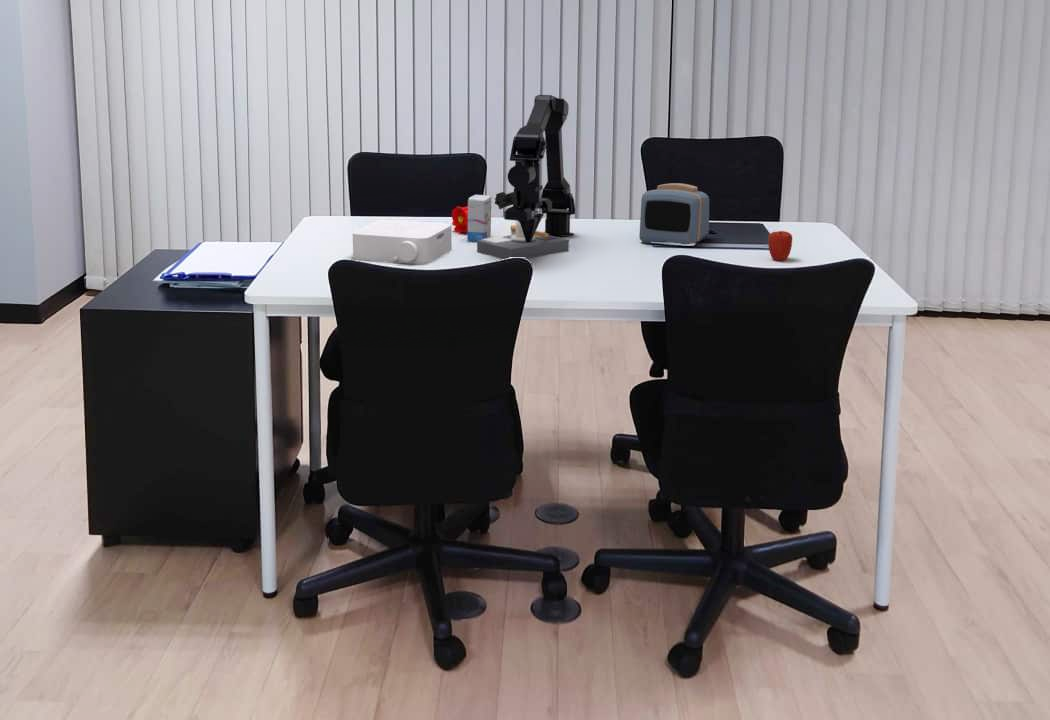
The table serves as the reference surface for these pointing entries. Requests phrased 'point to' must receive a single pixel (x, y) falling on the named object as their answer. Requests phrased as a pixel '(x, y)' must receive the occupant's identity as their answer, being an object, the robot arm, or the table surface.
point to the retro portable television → (674, 214)
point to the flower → (460, 219)
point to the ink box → (479, 217)
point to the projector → (402, 241)
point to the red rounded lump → (780, 245)
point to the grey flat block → (522, 246)
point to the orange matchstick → (535, 232)
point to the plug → (519, 234)
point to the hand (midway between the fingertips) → (528, 242)
